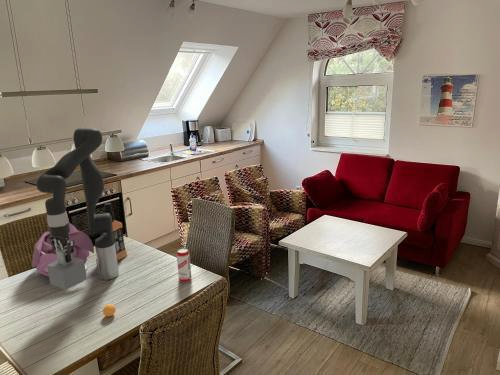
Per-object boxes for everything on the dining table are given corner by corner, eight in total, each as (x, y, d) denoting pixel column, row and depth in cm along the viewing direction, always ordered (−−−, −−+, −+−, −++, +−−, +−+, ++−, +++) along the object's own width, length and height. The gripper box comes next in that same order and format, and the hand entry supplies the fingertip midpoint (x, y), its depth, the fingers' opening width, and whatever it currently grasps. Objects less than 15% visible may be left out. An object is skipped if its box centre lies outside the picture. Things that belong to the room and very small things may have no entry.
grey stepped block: (50, 283, 161) (44, 252, 157) (71, 273, 170) (66, 242, 166) (65, 289, 157) (59, 257, 152) (86, 278, 165) (81, 247, 161)
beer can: (189, 283, 185) (186, 253, 180) (176, 282, 186) (174, 252, 182) (193, 277, 191) (191, 248, 186) (181, 276, 192) (179, 247, 188)
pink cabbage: (105, 274, 207) (108, 223, 204) (79, 289, 183) (83, 232, 181) (46, 265, 211) (48, 215, 208) (14, 278, 188) (16, 222, 185)
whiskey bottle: (128, 255, 217) (121, 201, 208) (115, 262, 209) (108, 207, 200) (114, 252, 221) (106, 199, 213) (101, 259, 213) (93, 205, 204)
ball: (101, 317, 161) (99, 306, 159) (110, 310, 165) (109, 300, 163) (109, 320, 158) (107, 309, 157) (118, 313, 162) (117, 303, 161)
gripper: (39, 223, 156) (46, 260, 161) (61, 229, 149) (68, 268, 154) (55, 217, 162) (62, 253, 167) (77, 222, 155) (84, 260, 160)
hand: (65, 260), depth 160 cm, fingers closed on grey stepped block, 4 cm apart
